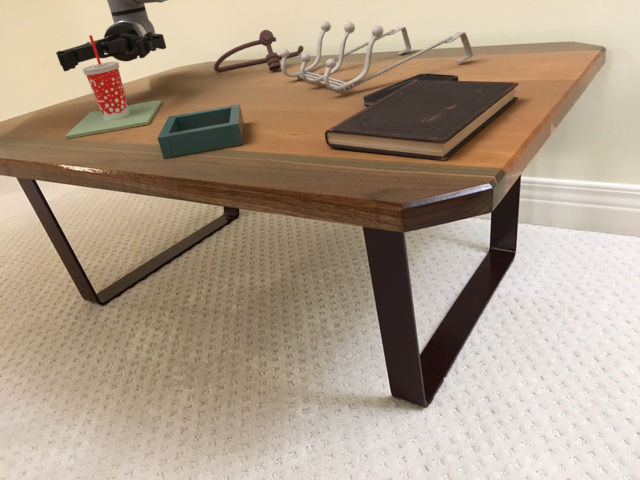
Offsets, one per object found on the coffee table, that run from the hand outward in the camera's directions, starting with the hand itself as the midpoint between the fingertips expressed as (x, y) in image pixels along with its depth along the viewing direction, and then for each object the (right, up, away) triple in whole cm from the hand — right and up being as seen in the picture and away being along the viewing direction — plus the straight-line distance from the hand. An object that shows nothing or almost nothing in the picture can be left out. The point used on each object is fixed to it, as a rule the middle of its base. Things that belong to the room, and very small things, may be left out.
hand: (101, 56), depth 96 cm
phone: (+53, -10, -11) cm, 55 cm away
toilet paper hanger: (+26, +6, +27) cm, 38 cm away
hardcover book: (+53, -17, -25) cm, 61 cm away
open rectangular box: (+22, -18, -17) cm, 33 cm away
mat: (+2, -10, +3) cm, 11 cm away
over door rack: (+49, -1, +6) cm, 49 cm away
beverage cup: (+2, -10, +3) cm, 11 cm away
